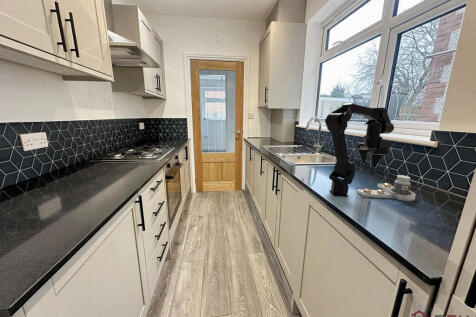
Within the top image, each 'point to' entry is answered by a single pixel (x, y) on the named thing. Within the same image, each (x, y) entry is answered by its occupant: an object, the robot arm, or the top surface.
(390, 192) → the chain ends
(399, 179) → the pill bottle
